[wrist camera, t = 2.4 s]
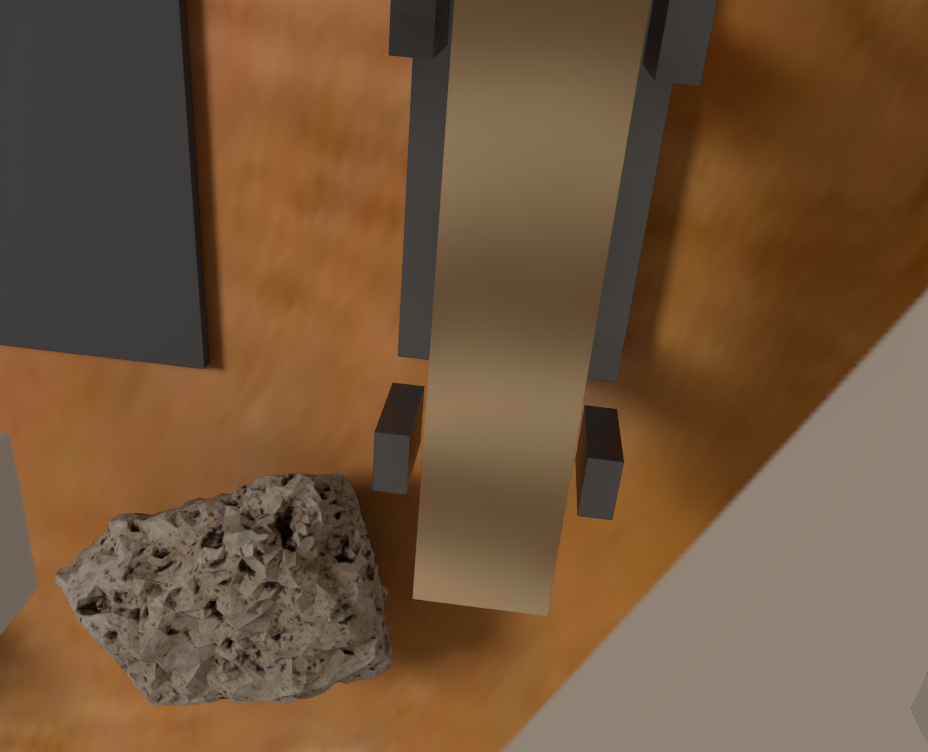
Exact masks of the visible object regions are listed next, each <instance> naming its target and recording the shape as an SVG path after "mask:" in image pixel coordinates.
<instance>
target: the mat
mask: <svg viewBox="0 0 928 752" xmlns="http://www.w3.org/2000/svg"><path fill="white" fill-rule="evenodd" d="M0 345H6V346H14V347H23V348H31V349H40V350H48V351H56V352H65V353H73V354H82V355H90V356H99V357H107V358H116V359H124V360H133V361H141V362H149V363H158V364H166V365H175V366H183V367H192V368H200V369H204V368H205V367H206V366H207V365H208V364H209V353H208V338H207V323H206V308H205V292H204V277H203V262H202V247H201V232H200V216H199V201H198V186H197V171H196V156H195V140H194V125H193V110H192V95H191V80H190V64H189V49H188V34H187V19H186V4H185V0H0Z"/></svg>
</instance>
